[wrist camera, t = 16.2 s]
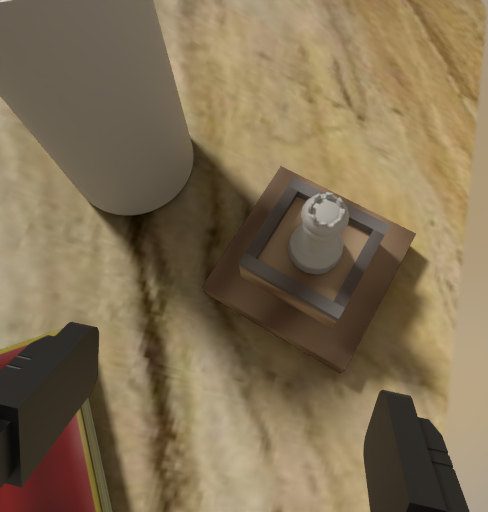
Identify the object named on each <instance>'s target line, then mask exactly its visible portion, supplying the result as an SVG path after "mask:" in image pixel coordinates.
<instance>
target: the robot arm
mask: <svg viewBox="0 0 488 512" xmlns="http://www.w3.org/2000/svg"><path fill="white" fill-rule="evenodd" d="M98 352H99V330H98V328H97V327H93V326H88V325H84V324H79V323H74V322H70V323H68V324H67V325H66V326H65V327H64V328H63V329H62V330H61V331H60V332H59V333H58V334H57V335H56V336H50V335H47V336H45V337H43V338H40V339H38V340H36V341H34V342H32V343H30V344H29V345H28V346H27V347H25V348H24V349H23V350H22V351H21V352H20V353H19V354H18V356H17V357H14V358H13V359H12V360H11V361H10V362H9V363H8V364H7V366H4V367H3V368H2V369H1V370H0V489H1V487H2V486H3V485H4V484H5V483H6V484H10V485H14V486H18V487H23V485H24V484H25V482H26V481H27V480H28V478H29V477H30V476H31V474H32V473H33V472H34V470H35V469H36V468H37V466H38V465H39V463H40V462H41V461H42V459H43V458H44V457H45V455H46V454H47V453H48V451H49V450H50V448H51V447H52V446H53V444H54V443H55V442H56V440H57V439H58V438H59V436H60V435H61V433H62V432H63V431H64V429H65V428H66V427H67V425H68V424H69V423H70V421H71V420H72V419H73V417H74V416H75V414H76V413H77V412H78V410H79V409H80V408H81V406H82V405H83V404H84V402H85V401H86V399H87V398H88V397H89V395H90V394H91V392H92V390H93V388H94V386H95V383H96V379H97V374H98ZM364 464H365V472H366V480H367V488H368V495H369V503H370V511H371V512H469V509H468V506H467V503H466V501H465V498H464V495H463V492H462V490H461V487H460V484H459V481H458V479H457V476H456V473H455V470H454V469H453V465H452V462H451V460H450V457H449V456H448V451H447V448H446V445H445V443H444V440H443V437H442V435H441V434H440V433H439V431H438V430H437V429H436V428H435V427H434V425H433V424H432V423H431V422H430V420H429V419H424V418H419V417H418V416H417V413H416V410H415V407H414V403H413V400H412V398H411V396H409V395H404V394H399V393H395V392H390V391H386V390H381V391H380V393H379V395H378V398H377V401H376V404H375V407H374V410H373V413H372V417H371V420H370V423H369V426H368V429H367V432H366V436H365V441H364Z"/></svg>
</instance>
